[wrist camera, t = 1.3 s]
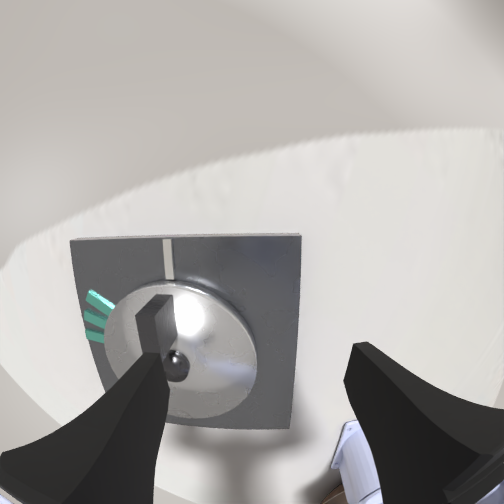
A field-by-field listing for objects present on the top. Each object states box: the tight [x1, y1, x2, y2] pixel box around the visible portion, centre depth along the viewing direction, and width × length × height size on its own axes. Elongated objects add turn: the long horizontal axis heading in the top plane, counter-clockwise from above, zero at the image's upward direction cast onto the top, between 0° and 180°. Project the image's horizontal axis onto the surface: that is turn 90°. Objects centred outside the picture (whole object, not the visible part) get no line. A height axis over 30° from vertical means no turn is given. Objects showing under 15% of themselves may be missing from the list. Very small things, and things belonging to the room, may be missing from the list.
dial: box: [104, 280, 257, 419], centre depth 17 cm, size 12×12×5 cm
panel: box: [70, 233, 302, 429], centre depth 20 cm, size 18×18×2 cm
